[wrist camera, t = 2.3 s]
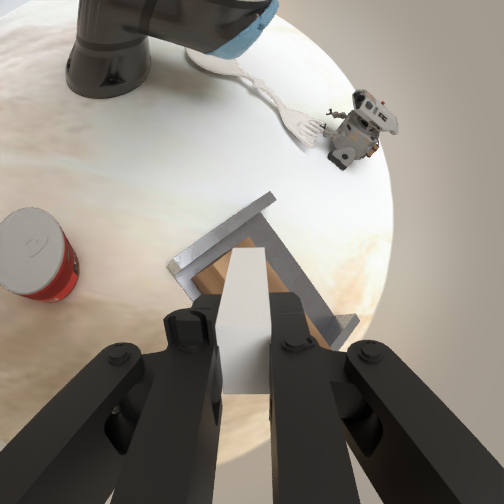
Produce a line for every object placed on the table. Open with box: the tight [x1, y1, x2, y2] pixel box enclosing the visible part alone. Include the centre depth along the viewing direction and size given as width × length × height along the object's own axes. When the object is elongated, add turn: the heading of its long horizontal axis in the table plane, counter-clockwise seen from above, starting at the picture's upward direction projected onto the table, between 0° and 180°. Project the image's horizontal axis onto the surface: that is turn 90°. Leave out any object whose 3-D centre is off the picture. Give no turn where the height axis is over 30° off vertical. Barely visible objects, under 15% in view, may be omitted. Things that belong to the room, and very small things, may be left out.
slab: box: [191, 237, 332, 350], centre depth 33 cm, size 5×17×9 cm, turn 41°
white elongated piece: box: [186, 47, 328, 148], centre depth 47 cm, size 9×32×4 cm, turn 58°
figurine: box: [320, 90, 398, 170], centre depth 48 cm, size 9×12×15 cm
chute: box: [167, 191, 360, 351], centre depth 37 cm, size 16×23×5 cm
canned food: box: [0, 207, 79, 303], centre depth 23 cm, size 8×8×11 cm
